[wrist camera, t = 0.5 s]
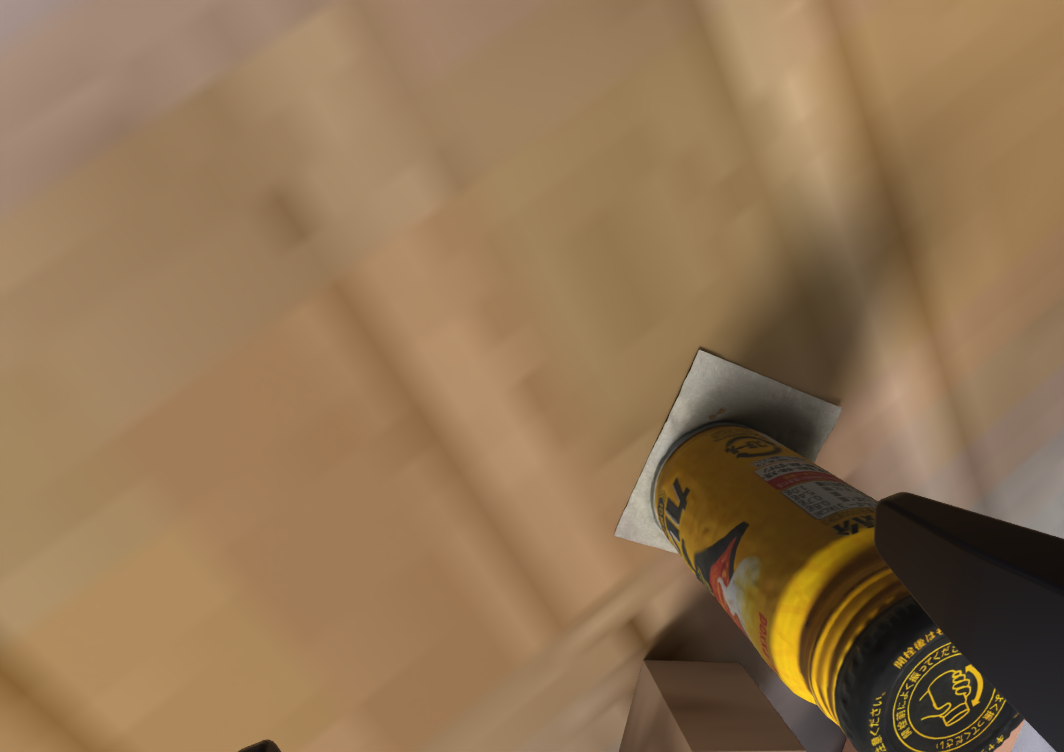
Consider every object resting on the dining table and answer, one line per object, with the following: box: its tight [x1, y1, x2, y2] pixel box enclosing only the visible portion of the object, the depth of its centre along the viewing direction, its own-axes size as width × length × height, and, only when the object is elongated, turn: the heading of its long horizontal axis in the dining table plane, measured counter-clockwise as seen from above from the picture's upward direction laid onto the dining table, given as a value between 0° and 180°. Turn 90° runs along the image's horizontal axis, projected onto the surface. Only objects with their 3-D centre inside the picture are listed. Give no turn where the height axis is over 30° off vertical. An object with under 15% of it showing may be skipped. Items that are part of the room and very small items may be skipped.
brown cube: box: [619, 660, 806, 752], centre depth 26 cm, size 5×5×5 cm
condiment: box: [614, 350, 1024, 752], centre depth 20 cm, size 7×8×12 cm
